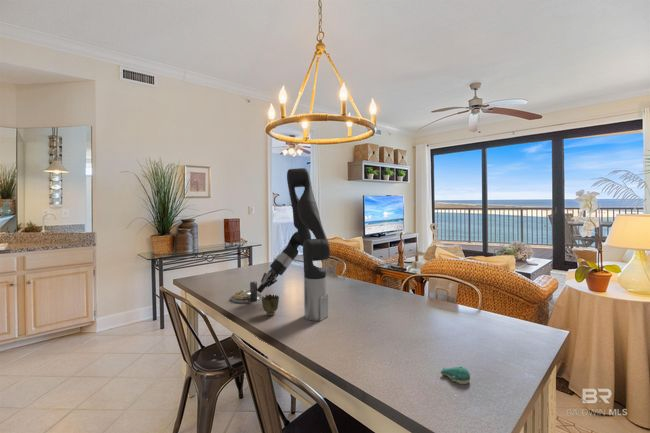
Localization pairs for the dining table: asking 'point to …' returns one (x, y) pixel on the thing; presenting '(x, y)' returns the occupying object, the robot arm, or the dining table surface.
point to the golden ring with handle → (251, 296)
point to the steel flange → (244, 299)
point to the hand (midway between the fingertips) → (258, 291)
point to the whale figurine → (457, 374)
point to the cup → (270, 304)
